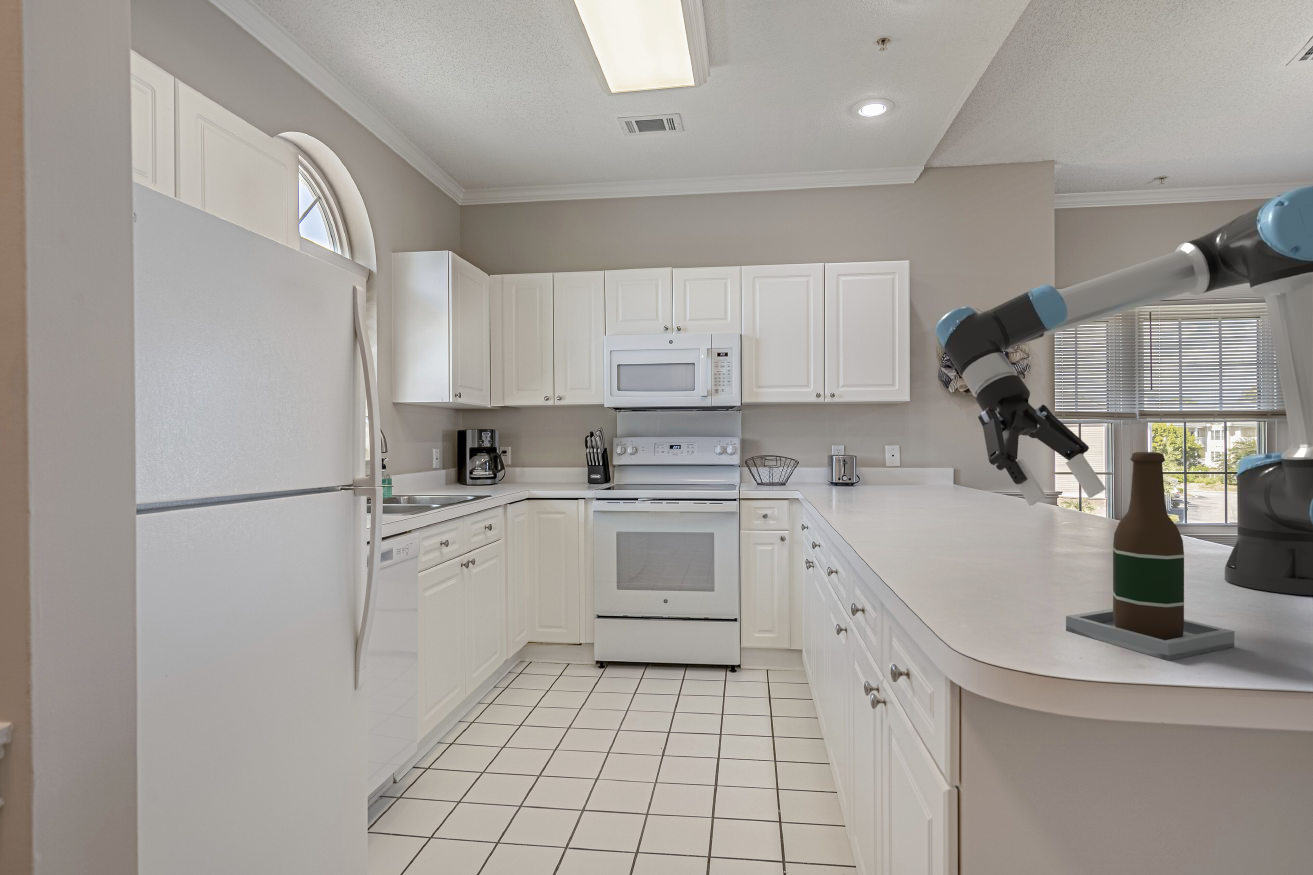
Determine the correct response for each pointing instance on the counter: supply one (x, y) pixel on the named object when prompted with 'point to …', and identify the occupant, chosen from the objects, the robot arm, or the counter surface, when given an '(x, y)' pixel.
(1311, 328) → the robot arm
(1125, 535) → the beer bottle
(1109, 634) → the keeper tray
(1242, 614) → the counter surface
